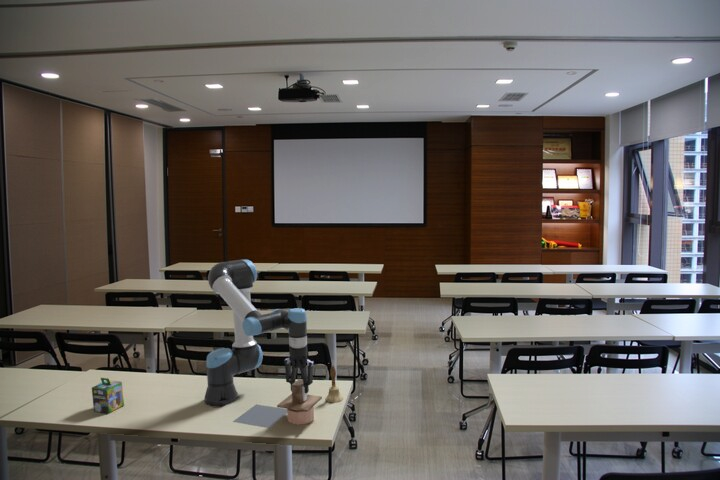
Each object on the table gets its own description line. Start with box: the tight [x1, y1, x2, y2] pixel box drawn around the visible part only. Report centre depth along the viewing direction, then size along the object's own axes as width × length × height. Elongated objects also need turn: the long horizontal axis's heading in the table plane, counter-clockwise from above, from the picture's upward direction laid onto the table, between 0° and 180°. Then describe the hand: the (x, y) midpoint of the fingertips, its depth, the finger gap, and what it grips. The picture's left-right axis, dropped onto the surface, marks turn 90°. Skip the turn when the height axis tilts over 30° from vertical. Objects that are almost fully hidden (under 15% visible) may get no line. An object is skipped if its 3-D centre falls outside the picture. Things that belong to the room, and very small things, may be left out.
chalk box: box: [91, 377, 125, 414], centre depth 226 cm, size 9×9×15 cm
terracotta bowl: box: [286, 406, 315, 426], centre depth 211 cm, size 11×11×6 cm
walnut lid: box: [276, 379, 323, 412], centre depth 210 cm, size 14×14×9 cm
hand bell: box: [324, 365, 344, 404], centre depth 231 cm, size 8×8×16 cm
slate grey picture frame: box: [232, 404, 287, 429], centre depth 215 cm, size 18×18×1 cm
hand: (299, 399), depth 211 cm, fingers closed on walnut lid, 4 cm apart
